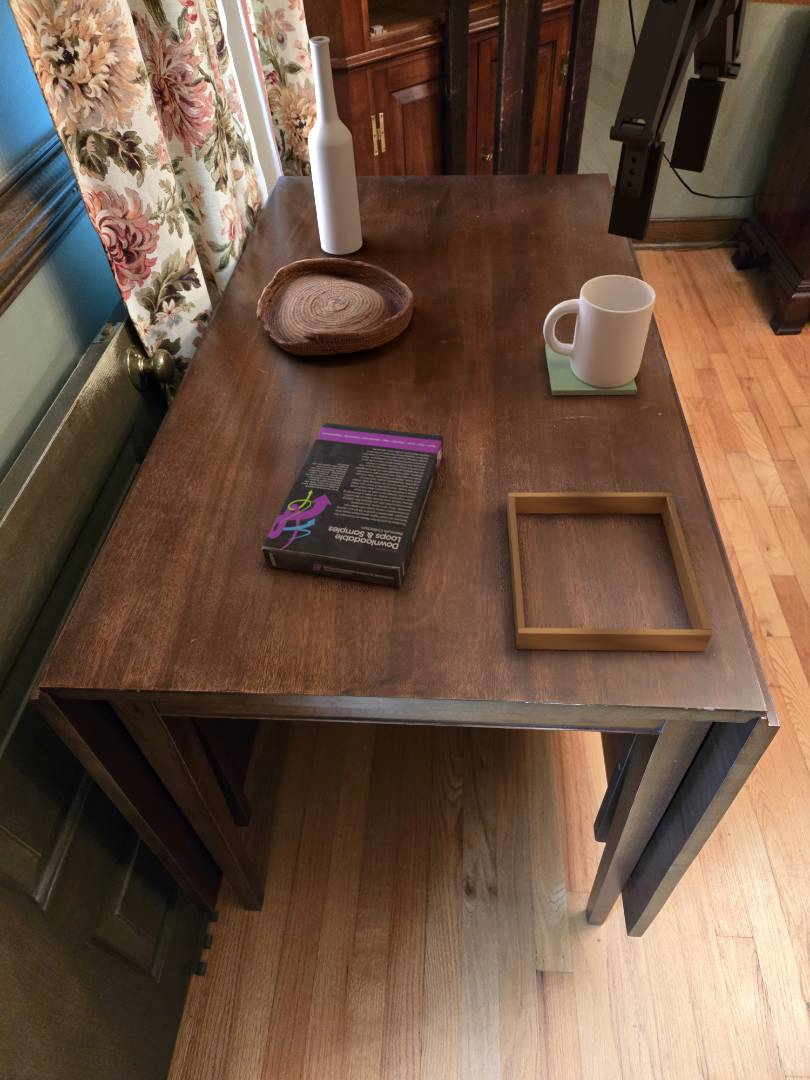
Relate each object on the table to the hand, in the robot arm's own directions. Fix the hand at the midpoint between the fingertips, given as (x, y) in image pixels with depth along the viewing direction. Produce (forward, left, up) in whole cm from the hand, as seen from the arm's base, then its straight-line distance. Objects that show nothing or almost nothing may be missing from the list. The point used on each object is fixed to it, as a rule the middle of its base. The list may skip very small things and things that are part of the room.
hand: (658, 200), depth 57 cm
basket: (+43, -10, -29) cm, 53 cm away
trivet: (+8, -16, -29) cm, 34 cm away
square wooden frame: (-5, +14, -29) cm, 32 cm away
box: (+19, +18, -29) cm, 39 cm away
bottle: (+56, -29, -29) cm, 69 cm away
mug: (+8, -15, -28) cm, 33 cm away
